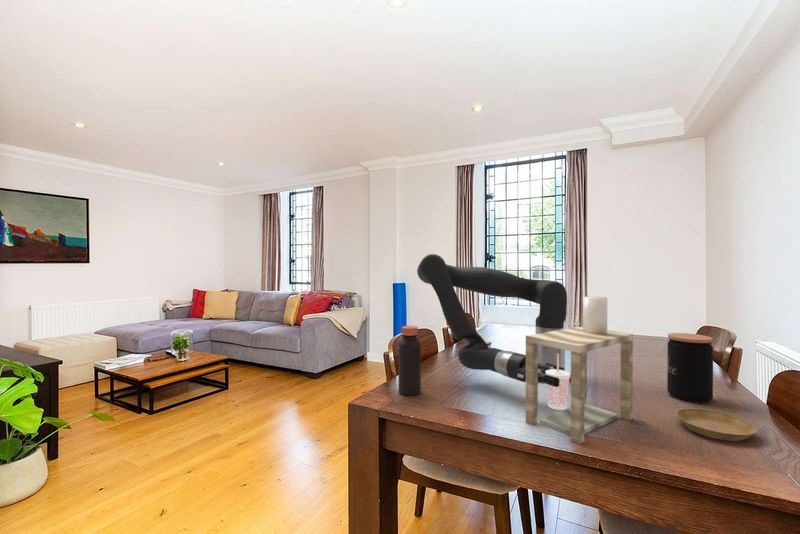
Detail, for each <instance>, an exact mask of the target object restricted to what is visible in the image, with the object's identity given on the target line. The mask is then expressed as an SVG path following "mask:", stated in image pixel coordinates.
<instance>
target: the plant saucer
mask: <svg viewBox="0 0 800 534" xmlns="http://www.w3.org/2000/svg"><path fill="white" fill-rule="evenodd" d="M675 415H676V417H677V418H678V419H679V421H680V422H681V423H682V424H683V425H684V426H685V427H686V428H687V429H688V430H690V431H691V432H694V433H696V434H698V435H701V436H703V435H704V437H706V438H710V437H711V438H710V439H714V438H715V440H719V439H720V440H719V441H726V440H727V441H728V442H741V441H744V440H746V439H749V438H750V437H752V436H753V435H755V434H756V433H757V432H758V428H757V426H755V425H754V424H752V423H751V422H749V421H747V420H746V419H743V418H740V417H737V416H735V415H732V414H728V413H726V412H720V411H716V410H710V409H705V408H681V409H678V410H676V412H675ZM691 421H692V423H691ZM689 422H690V423H691V424H690V423H689ZM693 422H694V423H693ZM711 422H712V423H713V422H718V423H721V424H723V425H726V426H725V427H724V426H723V427H724V428H723V427H722V425H721V424H720V425H721V427H722V428H721V427H720V429H719V430H718V429H717V430H716V429H715V430H714V429H712V430H711V429H710V428H709V427H708V426H709V425H710V423H711ZM695 423H696V424H697V425H696V424H695ZM708 423H709V424H708ZM712 423H711V424H712ZM707 424H708V425H707ZM705 426H706V427H705ZM709 429H710V430H709ZM727 441H726V442H727Z"/></svg>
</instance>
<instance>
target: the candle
mask: <svg viewBox="0 0 800 534" xmlns="http://www.w3.org/2000/svg"><path fill="white" fill-rule="evenodd" d="M582 299H583V300H582V327H583V332H586V333H591V334H607V330H608V297H605V296H583V297H582Z"/></svg>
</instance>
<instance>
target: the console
mask: <svg viewBox="0 0 800 534" xmlns="http://www.w3.org/2000/svg"><path fill="white" fill-rule="evenodd" d="M618 344H620V391H619V392H620V394H619V395H620V400H619V401H620V402H619V403H620V404H619V405H620V413H619V414H618V413H616V412H613V411H609V410H606V409H604V408H599V407H597V406H594V405H591V404H588V403H587V402H588V401H587V400H588V399H587V398H588V394H587V392H588V389H587V388H588V385H587V384H588V381H587V380H588V379H587V378H588V374H587V373H588V372H587V371H588V351H589V352H590V351H593V350H598V349H602V348H606V347H609V346H610V347H611V346H614V345H618ZM538 345H543V346H548V347H553V348H558V349H563V350H565V351H568V352H569V351H570V373H571V382H570V407H567V409H565V410H559V411H558V412H555V413H552V414H550V415H546V416H544V417H541V418H539V424H541V425H542V426H543V425H544V426H546V427H549V428H551V429H554V430H556V431H558V432H562V433H563V434H566V435H569V436H570V442H572V443H575V444H577V445H581V444H584V443H585V434H586V433H587V434H588V433H589V432H592V431H593V430H596V429H598V428H600V427H603V426H604V425H607V424H608V423H611V422H613V421H615V420H618V419H619V415H620V419H623V420H625V421H631V420H633V418H634V417H633V416H634V415H633V414H634V413H633V409H634V407H633V406H634V405H633V404H634V403H633V402H634V401H633V400H634V399H633V397H634V395H633V393H634V391H633V390H634V387H633V385H634V382H633V381H634V380H633V379H634V374H633V373H634V372H633V370H634V365H633V364H634V334H633V333H627V332H622V331H621V332H620V331H615V330H614V331H613V330H608V329H607V334H591V333H586V332H583V326H575V327H569V328H564V329H563V330H557V331H551V332H545V333H539V334H536V333H535V334H529V335H525V355H526V382H525V423H526V424H528V425H531V426H534V425H537V424H538V411H539V409H538V408H539V407H538V396H539V395H538V394H539V393H538V389H539V388H538V387H539V386H538V385H539V382H538Z"/></svg>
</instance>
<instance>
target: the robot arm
mask: <svg viewBox="0 0 800 534" xmlns="http://www.w3.org/2000/svg"><path fill="white" fill-rule="evenodd" d="M416 269H417V270H416V271H417V276H418V279H420V281H421V282H423V283H425V284H427V285H431V288H432V289H433V290H434V292H435V293H436V296H437V298H438V301H439V304H440V307H441V310H442V314H443V316H444V320H445V322H446V324H447V325H448V327H449V329H450V331H451V334H452V335H453V337H454V339H455V340H458V341H460V340H466V341H467V342H469V343H470V344H468V343H467V344H466V345H465V346H462V347H461V348H460V349H459V351H458V353H457V354H458V355H457V356H458V357H457V358H458V360H459V363H460V364H462V365H463V366H464V367H465V368H467V369H471V370H479V371H481V370H483V371H492V372H495V373H497V374H499V375H501V376H504V377H507V378H510V379H514V380H515V381H519V382H522V383H526V354H522V353H519V352H515V351H510V350H504V349H499V348H495V347H491V348H489V347H488V345H487V344H486V342H485V341H484V340H483V339H482V338H481V336H480V335H479V334H480V333H478V332H477V330H476V329H475V328H474V327H473V325H472V323H471V321H470V319H469V317H468V316H467V315H468V314H467V313H466V312H465V310H464V307H463V306H462V304H461V301H460V299H459V297H458V295H457V293H456V290H455V288H459V289H462V290H466V291H469V292H472V293H473V292H474V293H478V294H481V295H487V296H491V297H499V298H500V297H501V298H516V299H522V300H525V301H529V302H533V303H535V304H538V305H539V314H538V316H537V317H536V318H535V334H539V333H545V332H551V331H557V330H563V329H565V322H566V319H567V313H568V312H567V308H568V295H567V294H568V293H567V289H566V287H565V286H564V285H563V284H562V283H561V282H559V281H555V280H545V279H541V280H540V279H531V278H524V277H520V276H517V275H515V274H512V273H509V272H506V271H503V270H499V269H494V268H490V267H484V266H466V267H465V266H464V267H463V266H454V265H450V264H446V261H445V260H444V258H442V256H440V255H439V254H435V253H429V254H427V255H425V256H424V257H423V258H422V259H421V261H420V262H419V264H418V266H417V268H416ZM454 287H455V288H454ZM557 353H559V370H563V371H566V350H563V349H558V348H553V347H548V346H543V345H538V384H541V385H545V384H546V385H547V384H548V385H551V386H555V387H558V386H559V381H560V380H559V378H556V377H553V376H550V375H546V373H545V371H546V370H550V369H557ZM569 373H570V374H571V372H569ZM569 383H571V375H570V378H569Z"/></svg>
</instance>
